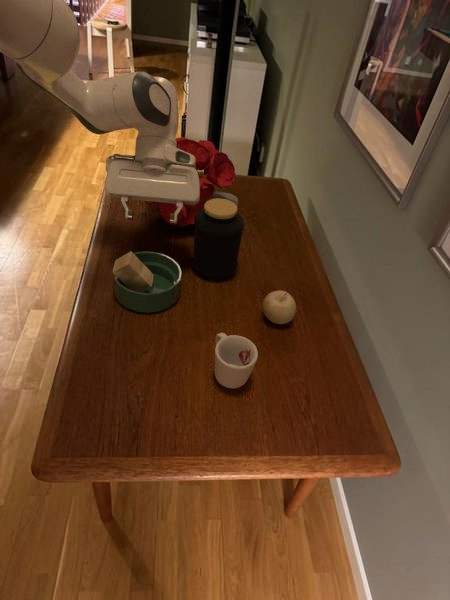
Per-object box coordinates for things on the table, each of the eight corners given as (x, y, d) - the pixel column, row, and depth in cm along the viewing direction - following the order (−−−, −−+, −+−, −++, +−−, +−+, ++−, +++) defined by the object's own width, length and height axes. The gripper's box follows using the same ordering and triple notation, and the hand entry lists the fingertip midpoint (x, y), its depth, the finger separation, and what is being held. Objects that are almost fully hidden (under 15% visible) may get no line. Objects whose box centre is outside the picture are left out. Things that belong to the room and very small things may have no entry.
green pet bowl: (119, 318, 86) (117, 298, 82) (110, 274, 96) (108, 254, 92) (186, 309, 91) (188, 289, 87) (171, 268, 101) (172, 249, 97)
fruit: (291, 309, 95) (300, 284, 90) (291, 332, 90) (301, 306, 85) (260, 304, 95) (267, 278, 90) (258, 326, 90) (265, 300, 85)
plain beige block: (136, 295, 91) (112, 272, 86) (138, 282, 94) (115, 259, 90) (152, 287, 90) (128, 263, 85) (153, 274, 93) (131, 251, 88)
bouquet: (197, 211, 135) (120, 180, 113) (238, 152, 125) (163, 105, 104) (226, 252, 123) (146, 225, 101) (274, 189, 113) (198, 145, 92)
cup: (197, 357, 81) (201, 330, 76) (232, 346, 85) (238, 320, 79) (221, 399, 75) (227, 373, 69) (258, 386, 78) (266, 360, 73)
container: (179, 265, 102) (184, 202, 90) (212, 248, 109) (220, 188, 97) (214, 290, 97) (224, 227, 85) (245, 270, 104) (258, 209, 92)
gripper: (103, 146, 83) (99, 213, 82) (202, 157, 85) (198, 221, 85) (109, 158, 89) (104, 220, 89) (200, 167, 91) (196, 227, 91)
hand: (151, 221), depth 87 cm, fingers open, 8 cm apart
